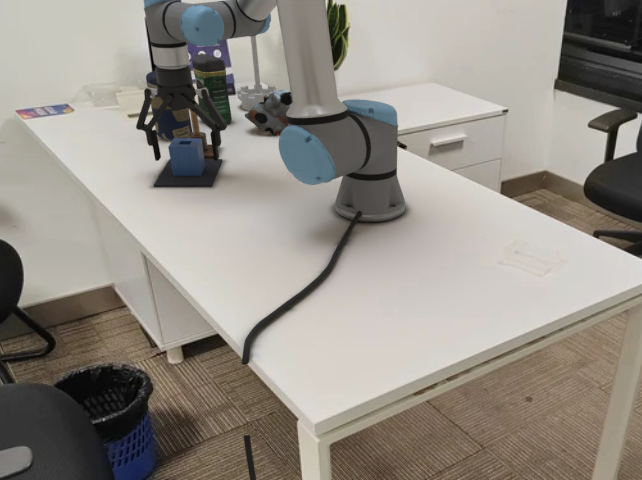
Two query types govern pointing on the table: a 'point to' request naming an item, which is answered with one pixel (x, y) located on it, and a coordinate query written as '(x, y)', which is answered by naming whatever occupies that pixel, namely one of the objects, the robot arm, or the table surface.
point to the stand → (201, 137)
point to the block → (187, 157)
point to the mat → (189, 181)
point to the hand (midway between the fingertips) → (187, 159)
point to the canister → (169, 116)
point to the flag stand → (257, 93)
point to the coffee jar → (212, 83)
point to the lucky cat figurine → (271, 112)
